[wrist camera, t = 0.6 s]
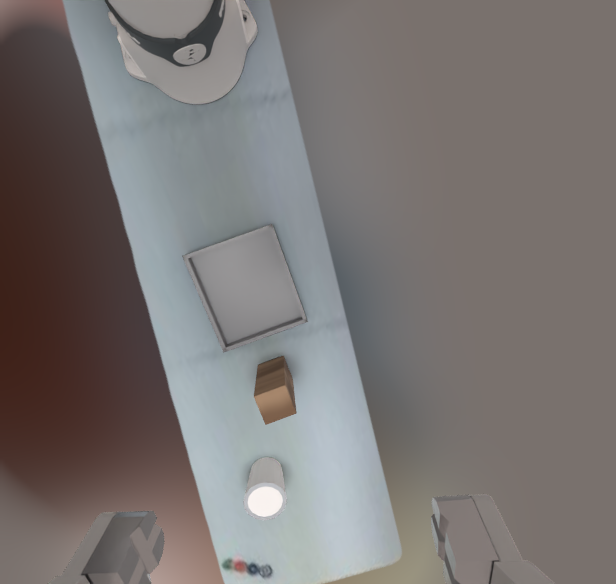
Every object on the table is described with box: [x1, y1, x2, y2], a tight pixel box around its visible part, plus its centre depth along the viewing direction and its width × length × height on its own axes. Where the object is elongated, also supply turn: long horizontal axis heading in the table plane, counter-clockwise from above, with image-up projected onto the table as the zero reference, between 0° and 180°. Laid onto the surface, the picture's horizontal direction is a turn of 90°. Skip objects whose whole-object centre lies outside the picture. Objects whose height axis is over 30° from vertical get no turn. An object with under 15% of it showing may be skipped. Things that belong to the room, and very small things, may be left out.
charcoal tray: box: [183, 224, 308, 352], centre depth 53 cm, size 16×14×2 cm
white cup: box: [243, 457, 287, 520], centre depth 57 cm, size 7×7×7 cm
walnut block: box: [254, 356, 296, 424], centre depth 52 cm, size 4×4×11 cm
